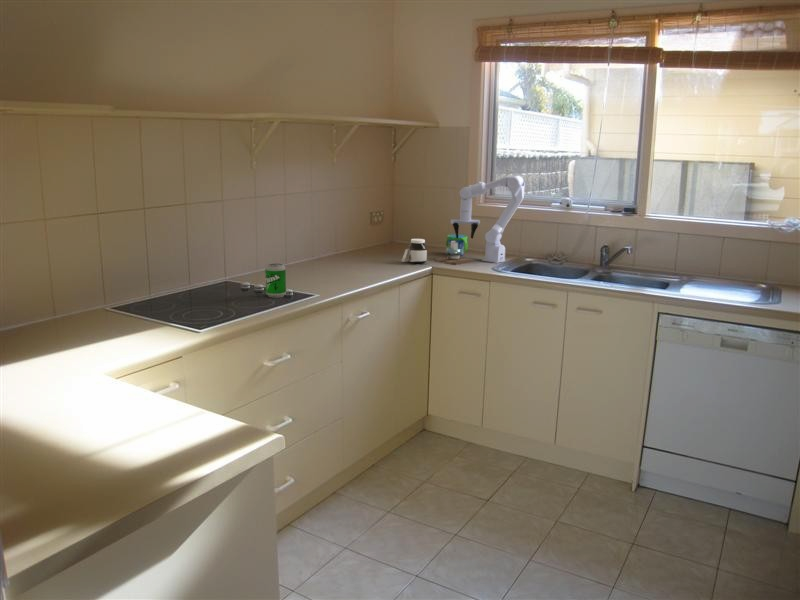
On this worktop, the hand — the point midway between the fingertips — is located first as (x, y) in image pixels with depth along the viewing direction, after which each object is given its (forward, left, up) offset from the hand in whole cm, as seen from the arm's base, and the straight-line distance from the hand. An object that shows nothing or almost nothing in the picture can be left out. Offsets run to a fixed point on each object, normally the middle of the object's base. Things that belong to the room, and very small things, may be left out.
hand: (464, 238), depth 351 cm
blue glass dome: (-2, +11, -7) cm, 13 cm away
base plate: (-2, +11, -10) cm, 15 cm away
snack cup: (+9, -5, -11) cm, 15 cm away
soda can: (-5, +122, -11) cm, 122 cm away
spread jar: (+8, +30, -11) cm, 33 cm away
